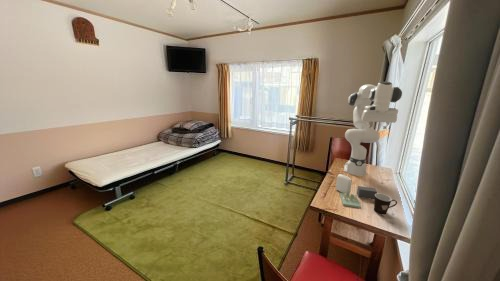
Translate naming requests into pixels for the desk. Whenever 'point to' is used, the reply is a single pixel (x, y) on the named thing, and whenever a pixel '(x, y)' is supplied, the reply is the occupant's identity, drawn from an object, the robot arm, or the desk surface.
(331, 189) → the desk surface
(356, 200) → the board
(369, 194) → the block
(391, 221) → the desk surface
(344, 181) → the photo printer
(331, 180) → the desk surface
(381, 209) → the coffee mug
